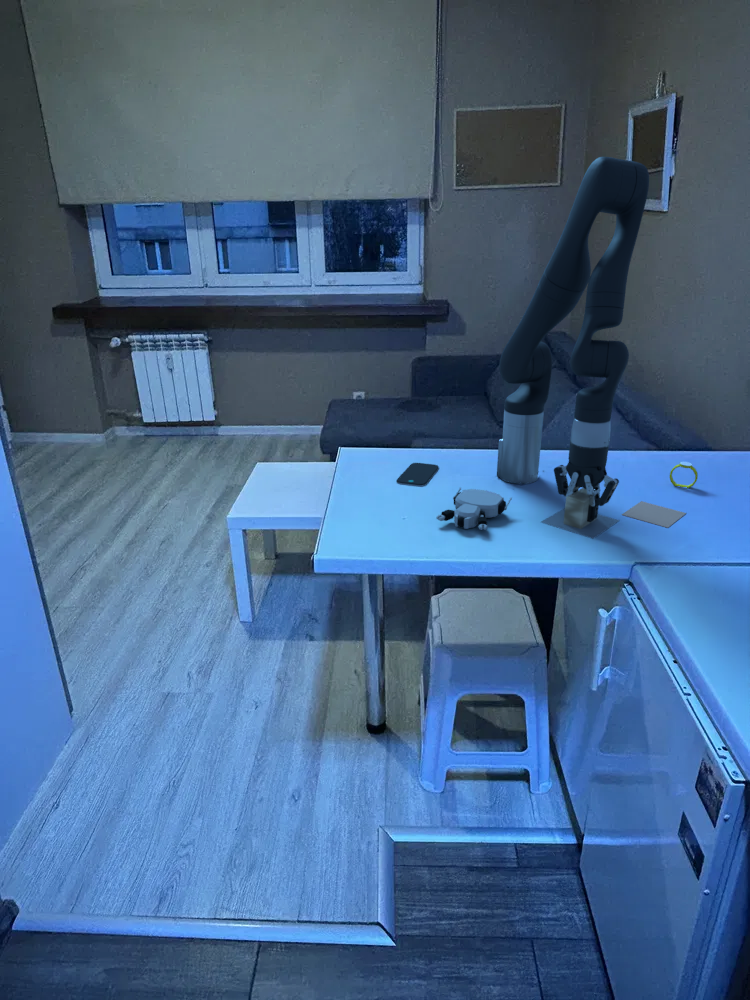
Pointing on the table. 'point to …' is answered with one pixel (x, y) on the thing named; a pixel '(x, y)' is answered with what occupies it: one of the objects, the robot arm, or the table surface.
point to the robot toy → (474, 508)
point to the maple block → (577, 509)
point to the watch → (684, 465)
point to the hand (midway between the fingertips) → (580, 517)
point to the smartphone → (417, 474)
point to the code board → (588, 531)
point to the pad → (654, 514)
